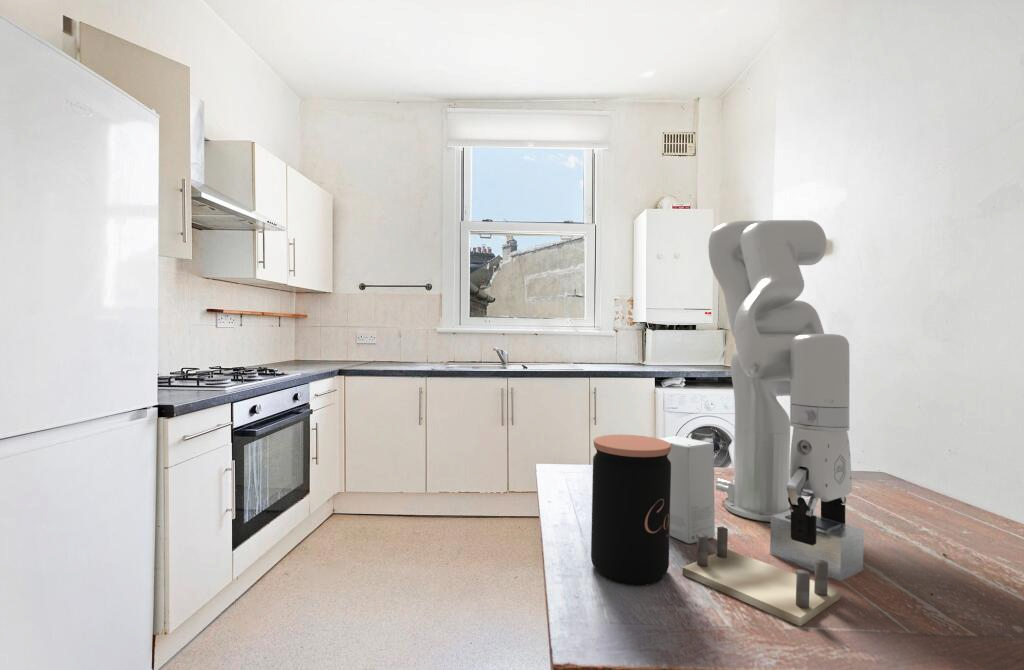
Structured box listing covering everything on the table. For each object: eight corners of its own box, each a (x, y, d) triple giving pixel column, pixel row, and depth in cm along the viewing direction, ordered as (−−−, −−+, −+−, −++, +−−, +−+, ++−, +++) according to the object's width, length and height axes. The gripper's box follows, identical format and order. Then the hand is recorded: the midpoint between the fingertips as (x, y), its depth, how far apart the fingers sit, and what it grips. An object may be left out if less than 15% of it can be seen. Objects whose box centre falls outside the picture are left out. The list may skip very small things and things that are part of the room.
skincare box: (715, 538, 85) (717, 443, 85) (686, 546, 82) (689, 447, 82) (676, 521, 93) (678, 434, 92) (648, 528, 89) (650, 437, 89)
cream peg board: (682, 574, 72) (683, 538, 72) (726, 555, 79) (726, 522, 79) (800, 626, 60) (801, 582, 60) (840, 598, 66) (841, 559, 66)
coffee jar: (655, 596, 66) (658, 454, 66) (578, 574, 72) (580, 443, 71) (677, 565, 75) (680, 440, 75) (607, 548, 81) (609, 431, 81)
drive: (770, 555, 80) (770, 514, 80) (793, 546, 83) (794, 507, 83) (840, 582, 71) (841, 536, 71) (862, 571, 75) (863, 528, 75)
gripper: (820, 424, 69) (820, 556, 68) (870, 417, 79) (870, 532, 78) (764, 418, 75) (763, 539, 74) (817, 412, 85) (817, 518, 84)
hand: (818, 535), depth 76 cm, fingers open, 9 cm apart
